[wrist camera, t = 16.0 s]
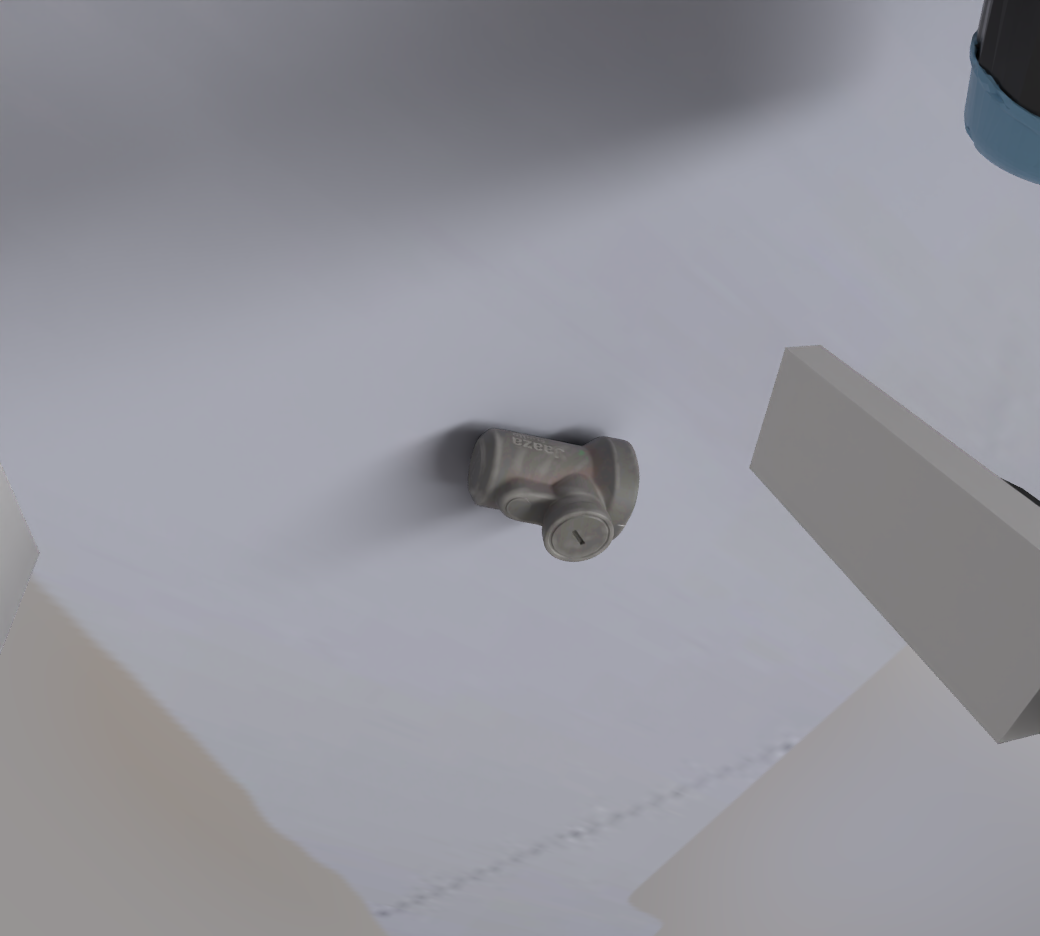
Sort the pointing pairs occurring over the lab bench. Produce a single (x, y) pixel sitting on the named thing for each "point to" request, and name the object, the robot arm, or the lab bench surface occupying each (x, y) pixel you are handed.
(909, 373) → the lab bench surface
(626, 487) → the pipe fitting
